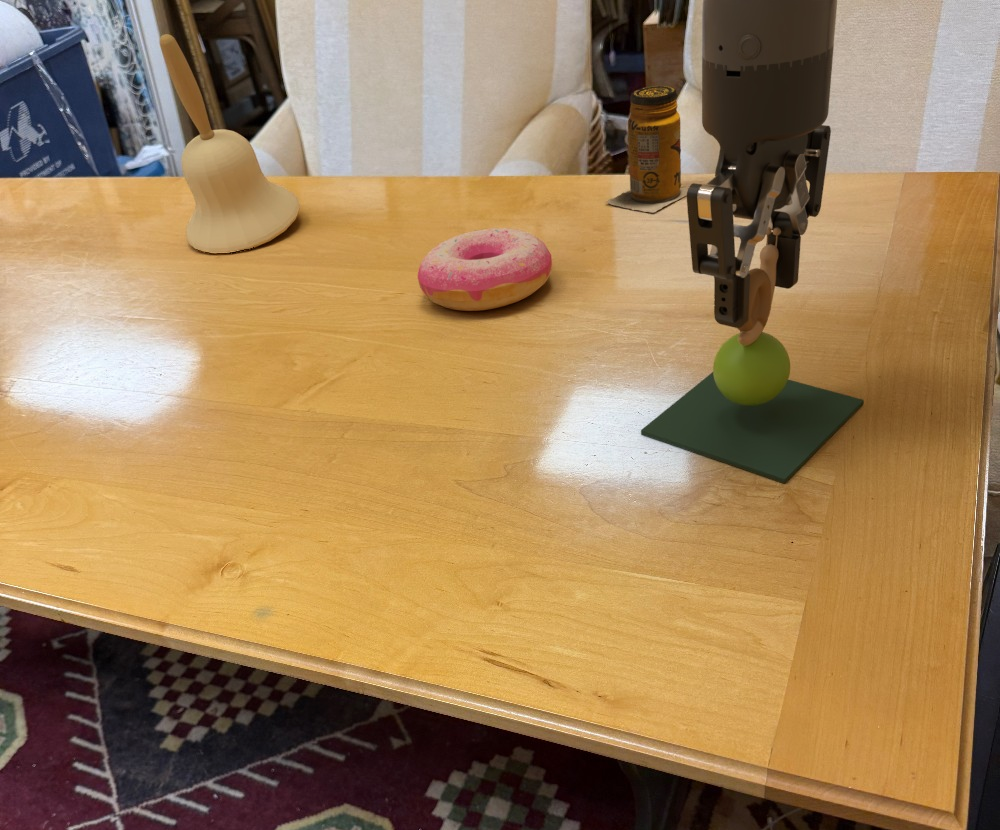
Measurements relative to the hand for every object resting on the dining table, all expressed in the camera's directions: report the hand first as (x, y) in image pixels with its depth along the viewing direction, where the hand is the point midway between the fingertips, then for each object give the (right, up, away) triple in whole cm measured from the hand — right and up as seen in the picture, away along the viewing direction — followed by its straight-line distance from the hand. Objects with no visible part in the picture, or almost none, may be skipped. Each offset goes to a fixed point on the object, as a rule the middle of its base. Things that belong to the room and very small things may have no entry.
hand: (756, 303), depth 64 cm
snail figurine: (+1, -6, +5) cm, 8 cm away
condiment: (0, +23, +46) cm, 52 cm away
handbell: (-51, +21, +56) cm, 79 cm away
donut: (-19, +8, +31) cm, 37 cm away
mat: (+1, -8, +6) cm, 10 cm away
